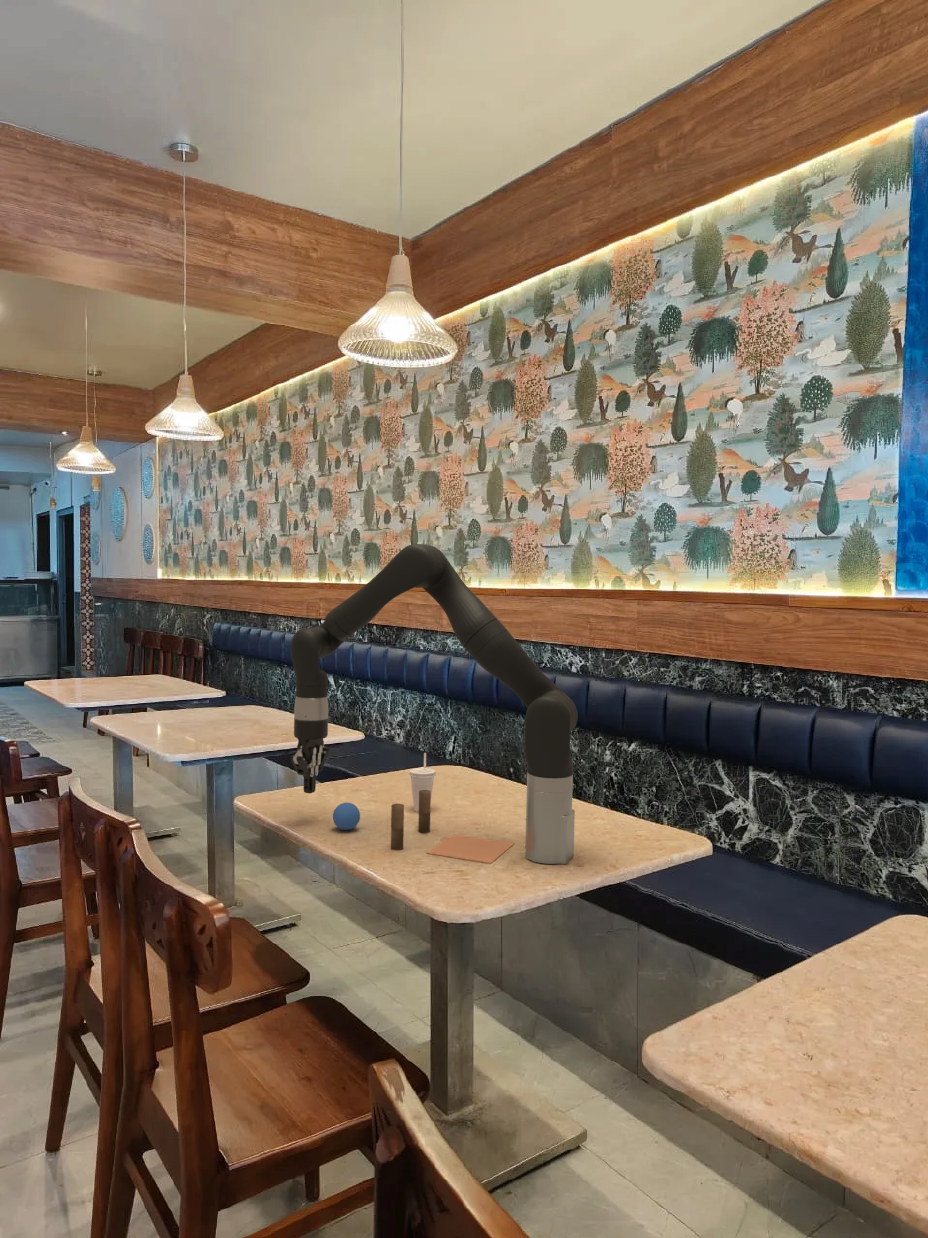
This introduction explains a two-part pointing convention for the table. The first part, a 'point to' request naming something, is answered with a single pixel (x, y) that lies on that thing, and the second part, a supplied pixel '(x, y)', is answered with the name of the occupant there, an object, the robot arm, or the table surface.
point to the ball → (346, 816)
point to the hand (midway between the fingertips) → (309, 792)
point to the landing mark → (471, 848)
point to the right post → (424, 811)
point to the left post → (397, 826)
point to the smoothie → (421, 782)
